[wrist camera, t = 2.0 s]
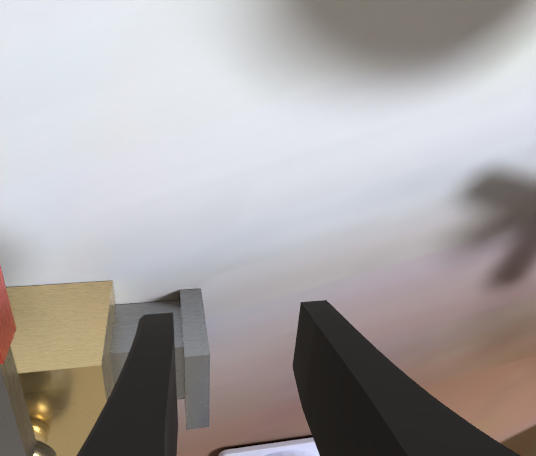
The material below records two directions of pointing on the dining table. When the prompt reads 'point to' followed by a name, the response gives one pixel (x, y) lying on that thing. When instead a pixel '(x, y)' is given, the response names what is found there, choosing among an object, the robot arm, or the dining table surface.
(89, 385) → the valve body
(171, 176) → the dining table surface
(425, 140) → the dining table surface
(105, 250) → the dining table surface
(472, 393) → the dining table surface
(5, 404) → the valve lever
